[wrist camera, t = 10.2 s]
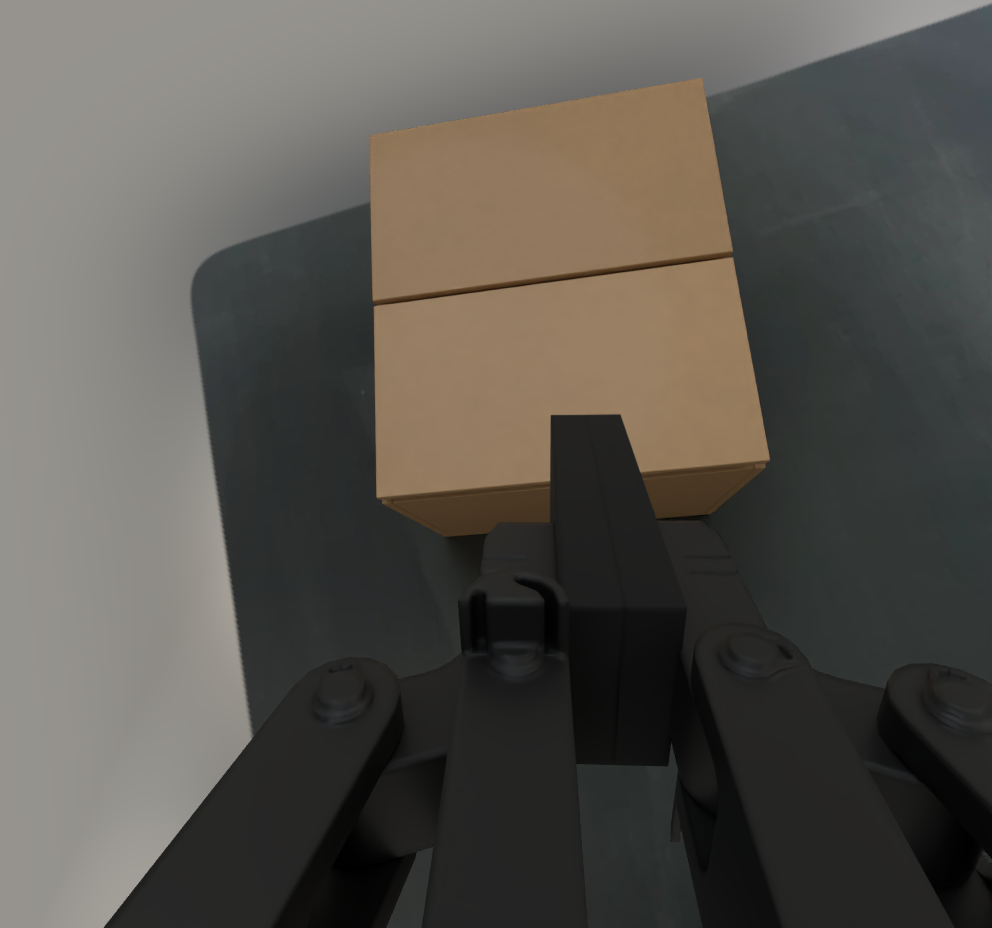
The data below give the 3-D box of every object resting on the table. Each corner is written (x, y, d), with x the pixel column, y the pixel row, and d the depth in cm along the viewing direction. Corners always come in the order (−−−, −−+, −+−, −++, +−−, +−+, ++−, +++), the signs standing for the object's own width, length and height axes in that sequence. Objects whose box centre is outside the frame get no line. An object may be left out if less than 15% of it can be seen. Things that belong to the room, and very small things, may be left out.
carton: (711, 514, 32) (772, 462, 21) (444, 537, 33) (374, 500, 23) (669, 238, 36) (703, 75, 25) (432, 272, 37) (367, 133, 27)
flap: (767, 463, 21) (770, 460, 21) (379, 500, 23) (376, 498, 23) (731, 263, 23) (733, 256, 23) (376, 310, 25) (373, 305, 25)
